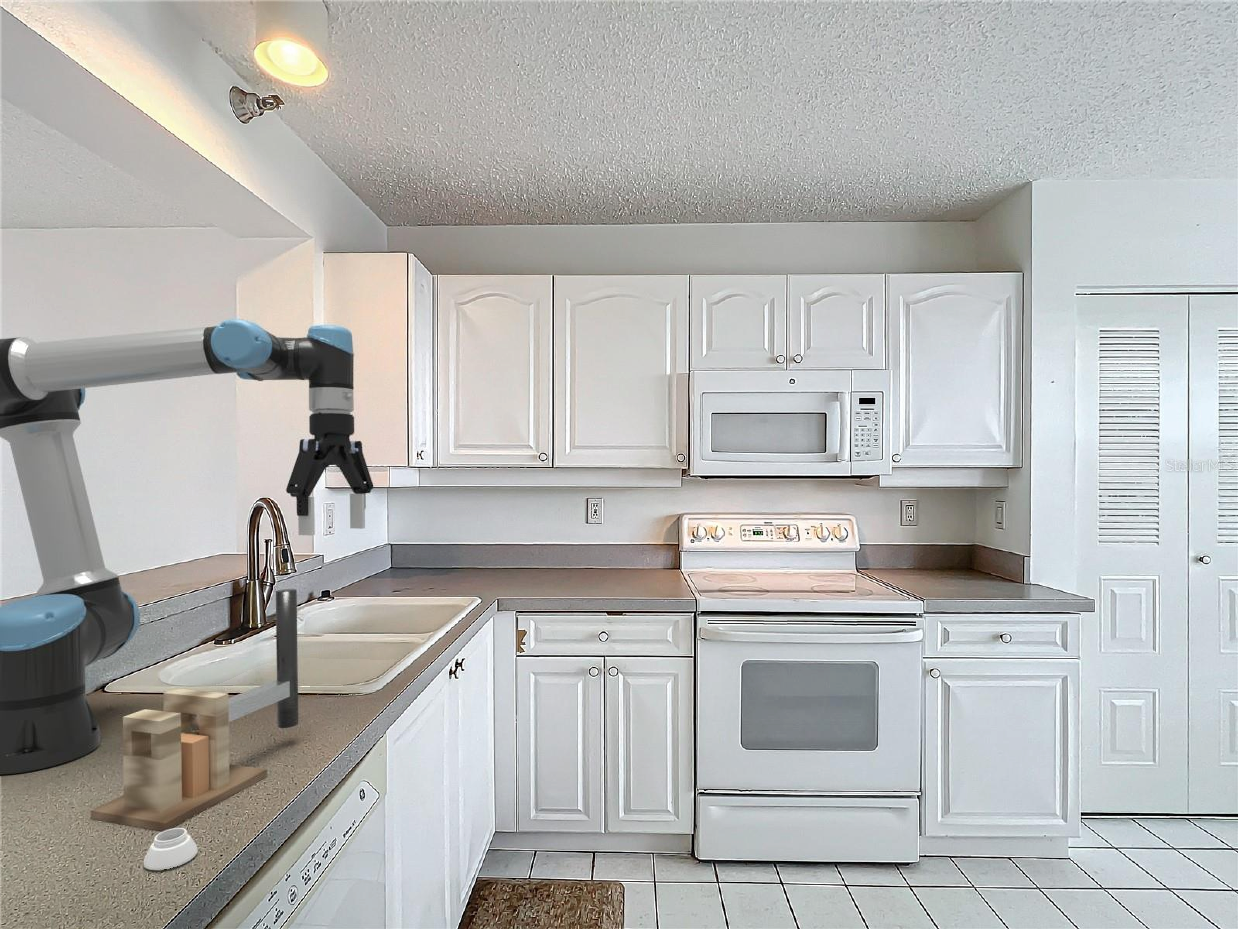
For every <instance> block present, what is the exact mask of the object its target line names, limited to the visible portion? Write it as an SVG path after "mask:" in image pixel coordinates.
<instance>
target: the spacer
mask: <svg viewBox="0 0 1238 929" xmlns="http://www.w3.org/2000/svg"><path fill="white" fill-rule="evenodd" d="M181 767H182V796H184V797H191V798H194V797H196V796H198V795H200V794H202V793H203V792H205V791H207V790H209V736H202V735H193V734H185V733H181Z"/></svg>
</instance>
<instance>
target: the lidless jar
mask: <svg viewBox="0 0 1238 929" xmlns="http://www.w3.org/2000/svg"><path fill="white" fill-rule="evenodd" d="M198 850H199V849H198V846H197V844H196V842H195V841H194V839H193V837H192V836H191V835H190V834H188V831H187V829H186V828H183V827H173V828H171V829H169V830H166V831H160V832H159V833H158V834H157V835H155V836H154V840H153V842H152V843H151V845H150V846H149V848H148V850H147V853H146V855H145V857H144V858H143V867H144V868H145V869H147V870H149V871H165V870H164V869H167V870H171V869H174V868H173V867H175V868H177V866H178V867H180V866H182V865H184V864H186V863H188V862H189V861H191V860H192V859H193V858H195V857H196V855H197V853H198ZM170 868H171V869H170Z"/></svg>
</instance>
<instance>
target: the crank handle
mask: <svg viewBox="0 0 1238 929" xmlns="http://www.w3.org/2000/svg"><path fill="white" fill-rule="evenodd" d="M297 595H298V590H297V589H295V588H287V589H286V588H285V589H279V590H275V630H276V631H275V635H276V636H275V637H276V638H275V639H276V640H275V641H276V645H275V646H276V647H275V649H276V651H275V652H276V679H275V680H273V681H270V682H267V683H266V684H265V683H264V684H262V685H260V686H257V687H255V688H252V689H248V690H246V691H244V692H242V693H239V694H237V695H233V696H230V697H228V706H229V723H230V722H232V721H234V720H237V719H239V718H242V717H244V716H246V715H249V714H251V713H253V712H256V711H259V710H261V709H263V708H266V707H268V706H270V705H273V704H277V705H276V709H277V712H276V714H277V716H276V717H277V722H276V723H277V725H276V726H277V728H278V729H289V728H293V727H296V726H298V724H299V671H298V670H299V668H298V667H299V664H298V662H299V660H298V658H299V657H298V606H297V605H298V597H297ZM191 730H193V731H197V732H199V714H191Z"/></svg>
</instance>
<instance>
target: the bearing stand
mask: <svg viewBox="0 0 1238 929" xmlns="http://www.w3.org/2000/svg"><path fill="white" fill-rule="evenodd" d="M162 695H163V711H162V710H157V709H156V710H155V709H146V708H145V709H141V710H139V711H137V712H133V713H131V714H128V715H125V716H123V717H122V746H123V748H122V750H123V751H122V755H123V757H122V758H123V762H122V764H123V795H121V796H119V797H116V798H115V799H113V800H110V801H109V802H106V803H104V804H102V805H100V806H97V807H96V808H92V809H91V810H90V820H91V819H92V820H97V821H101V822H102V821H103V822H109V823H114V824H118V825H124V826H125V825H126V826H131V827H136V828H141V829H149V830H154V831H158V832H159V831H160V832H163V831H166V830H169V829H173V828H176V825H177V826H179V825H180V824H182V823H184V822H185V820H186V821H188V820H190V819H191V818H193V817H195V816H197V815H199V814H200V812H201V811H202V812H205V811H206V810H208V809H209V808H211V807H213V805H214V806H215V805H217V804H219V803H220V802H222V801H224V800H227V799H228V798H230V797H232V796H234V795H236V794H237V792H238V793H239V792H241V791H243V790H245V789H247V788H248V787H251V786H252V785H255V784H256V783H258V782H260V781H262V780H264V779H265V778H267V777H268V772H267V771H268V769H266V768H259V767H258V768H257V767H251V766H243V765H237V764H235V765H234V764H230V726H229V725H230V722H229V706H228V698H229V693H224V692H215V691H205V690H197V689H196V690H195V689H185V688H174V689H171V690H167V691H165V692H163V694H162ZM191 714H199V731H194V730H191ZM181 733H185V734H193V735H202V736H209V790H207V791H205V792H203V793H202V794H200V795H198V796H196V797H194V798H191V797H184V796H182V767H181ZM233 794H234V795H233ZM207 808H208V809H207ZM205 809H206V810H205ZM202 812H201V813H202ZM198 813H199V814H198ZM196 814H197V815H196ZM194 815H195V816H194ZM192 816H193V817H192ZM187 819H188V820H187ZM183 821H184V822H183Z"/></svg>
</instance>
